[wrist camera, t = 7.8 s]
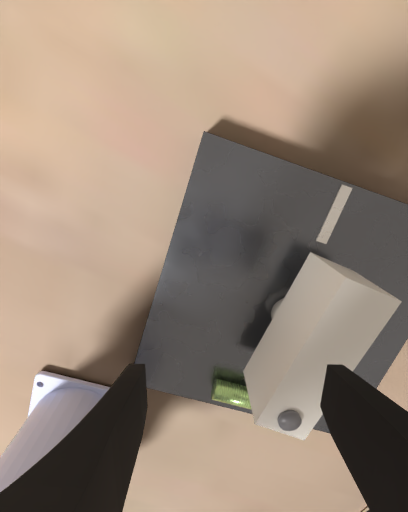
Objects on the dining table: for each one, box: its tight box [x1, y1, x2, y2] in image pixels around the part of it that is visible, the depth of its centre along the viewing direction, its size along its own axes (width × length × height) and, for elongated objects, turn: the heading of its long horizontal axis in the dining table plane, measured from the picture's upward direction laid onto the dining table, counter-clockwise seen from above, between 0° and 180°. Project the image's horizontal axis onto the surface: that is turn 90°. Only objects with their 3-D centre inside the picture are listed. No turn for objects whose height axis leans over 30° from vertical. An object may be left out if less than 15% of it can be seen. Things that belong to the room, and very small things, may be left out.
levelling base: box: [134, 131, 408, 433], centre depth 19 cm, size 18×18×3 cm
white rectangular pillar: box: [243, 252, 402, 440], centre depth 16 cm, size 3×9×6 cm, turn 157°
